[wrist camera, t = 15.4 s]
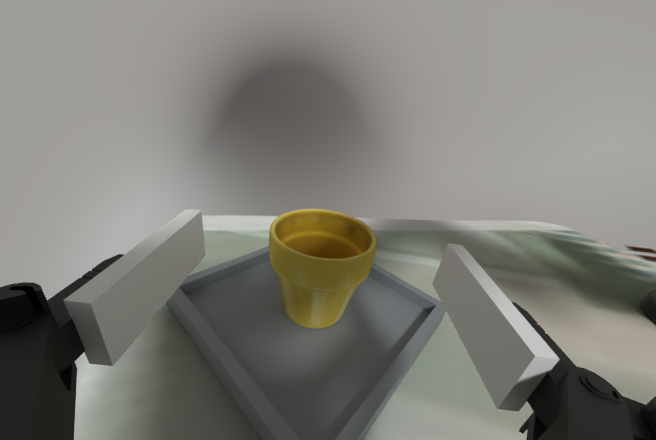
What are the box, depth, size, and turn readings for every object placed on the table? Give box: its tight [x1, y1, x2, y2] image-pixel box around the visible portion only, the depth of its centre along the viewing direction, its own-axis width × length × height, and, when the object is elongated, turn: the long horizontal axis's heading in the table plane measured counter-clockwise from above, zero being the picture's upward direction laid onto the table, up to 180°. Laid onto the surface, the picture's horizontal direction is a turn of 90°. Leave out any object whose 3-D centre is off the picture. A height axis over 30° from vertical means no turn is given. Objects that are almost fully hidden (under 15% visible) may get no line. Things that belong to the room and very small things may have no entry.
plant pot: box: [269, 209, 377, 329], centre depth 27 cm, size 10×10×10 cm
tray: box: [167, 247, 446, 440], centre depth 29 cm, size 22×22×2 cm
